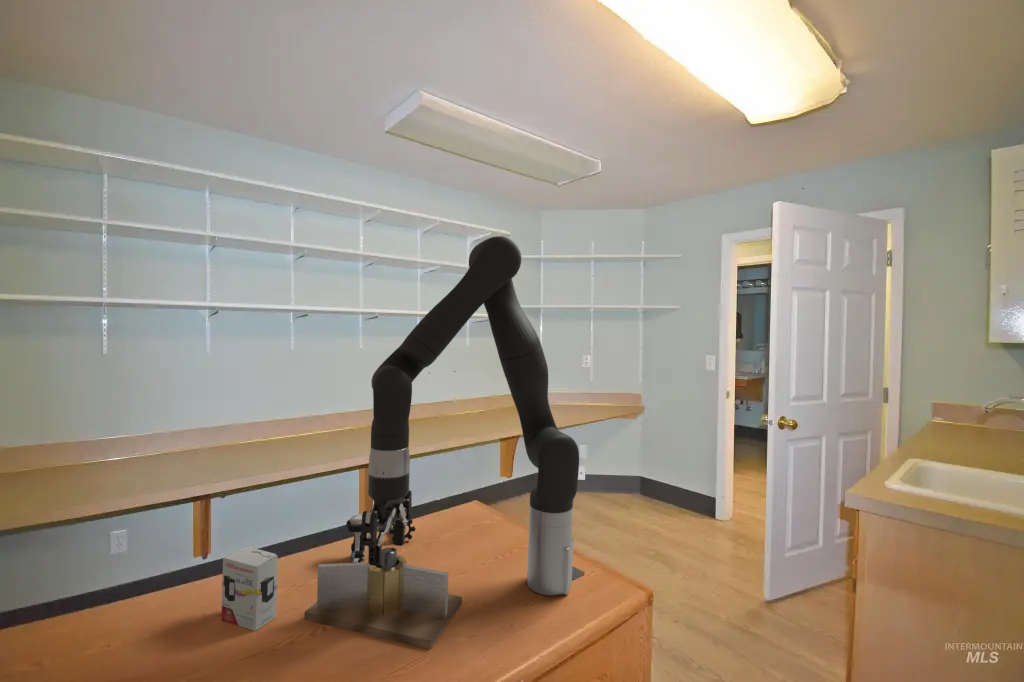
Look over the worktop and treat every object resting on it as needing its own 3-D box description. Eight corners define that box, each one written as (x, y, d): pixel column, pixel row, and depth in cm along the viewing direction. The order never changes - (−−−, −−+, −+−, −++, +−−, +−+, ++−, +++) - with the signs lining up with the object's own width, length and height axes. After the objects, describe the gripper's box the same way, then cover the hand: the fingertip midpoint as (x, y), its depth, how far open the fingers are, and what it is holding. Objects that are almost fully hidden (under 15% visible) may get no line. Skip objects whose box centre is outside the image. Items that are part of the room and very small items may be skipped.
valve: (383, 526, 130) (388, 545, 119) (384, 502, 130) (389, 519, 119) (408, 523, 133) (415, 542, 121) (409, 499, 132) (415, 516, 121)
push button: (367, 567, 107) (368, 524, 107) (342, 569, 106) (343, 524, 106) (370, 554, 114) (371, 512, 114) (347, 555, 113) (348, 513, 113)
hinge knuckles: (453, 606, 91) (454, 565, 91) (432, 635, 82) (433, 590, 82) (345, 584, 98) (346, 545, 98) (315, 608, 89) (316, 566, 89)
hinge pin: (398, 600, 93) (399, 548, 92) (390, 608, 90) (391, 555, 90) (384, 597, 93) (385, 546, 93) (375, 605, 91) (377, 553, 90)
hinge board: (461, 604, 94) (462, 596, 94) (430, 649, 81) (430, 640, 81) (350, 581, 102) (350, 574, 101) (304, 619, 88) (304, 611, 88)
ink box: (219, 620, 87) (220, 556, 87) (243, 606, 92) (244, 545, 91) (255, 632, 84) (256, 566, 84) (277, 616, 89) (278, 554, 88)
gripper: (386, 483, 83) (384, 576, 83) (424, 462, 96) (422, 541, 97) (349, 478, 85) (347, 568, 85) (391, 458, 98) (389, 536, 99)
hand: (387, 554), depth 91 cm, fingers open, 8 cm apart
